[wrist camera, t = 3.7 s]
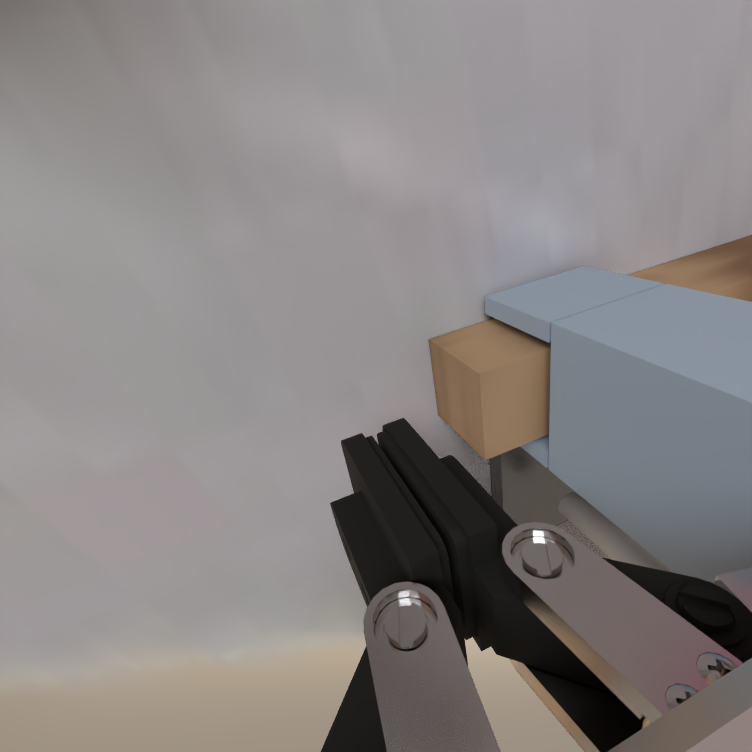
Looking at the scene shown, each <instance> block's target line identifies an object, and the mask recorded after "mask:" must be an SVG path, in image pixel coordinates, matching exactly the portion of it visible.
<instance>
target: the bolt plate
mask: <svg viewBox="0 0 752 752" xmlns="http://www.w3.org/2000/svg"><path fill="white" fill-rule="evenodd" d="M490 471H491V487H492V498H493V499H494V500H495V501H496V502H497V504H498V505H499V506H500V507H501V508H502V509H503V510H504V511H505V512H506V513H507V514H508V515H509V516H510V518H511V519H512V520H513V521H514V522H515V523H516V524H517V525H518V526H519V525H521V524H524V523H531V522H540V523H548V524H551V525H554V526H556V525H559V524H561V523H563V522H565V521H567V520H568V519H567V518H565V517H564V516H563V515H562V514H561V513H560V512H559V511H558V504H559V502H560V500H561V499H562V498H563V497H564V496H565V495H566V494H568V493H571V492H575V491H574V490H573V489H571V488H570V487H569V486H568V485H567V484H565V483H564V482H563V481H562V480H560V479H559V478H558V477H557V476H556V475H554V474H553V473H552V472H551V471H550V470H549V467H547V468H546V467H545V466H543V465H542V464H541V463H540V462H539V461H537V460H536V459H535V458H534V457H533V456H531V455H530V454H529V453H528V452H526V451H525V450H524V449H523V448H522V447H520V446H519V447H517V448H514V449H512V450H510V451H507V452H505V453H502V454H500V455H497V456H495V457H493V458H490ZM577 494H578V493H577Z"/></svg>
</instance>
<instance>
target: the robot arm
mask: <svg viewBox="0 0 752 752" xmlns="http://www.w3.org/2000/svg"><path fill="white" fill-rule="evenodd" d="M377 438H378V443H379V445H378V444H377V442H376V441H375V439H374V438H373V436H369V437H367V438H365V436H364V435H363V434H362V433H361V434H358V435H355V436H353V437H350V438H347V439H344V440H342V441H341V445H342V449H343V453H344V456H345V460H346V464H347V468H348V472H349V475H350V479H351V483H352V487H353V491H354V494H351V495H349V496H346V497H344V498H341V499H339V500H336V501H334V502H331V503H330V504H331V508H332V511H333V515H334V518H335V521H336V525H337V528H338V531H339V534H340V537H341V540H342V543H343V546H344V548H345V551H346V554H347V557H348V559H349V562H350V564H351V567H352V569H353V572H354V574H355V577H356V580H357V582H358V585H359V587H360V590H361V592H362V595H363V597H364V600H365V603H366V605H367V609H366V613H365V616H364V635H365V641H366V648H365V650H364V653H363V655H362V657H361V660H360V662H359V664H358V667H357V669H356V671H355V674H354V676H353V678H352V680H351V683H350V685H349V688H348V690H347V692H346V694H345V697H344V699H343V702H342V704H341V706H340V708H339V711H338V713H337V715H336V718H335V720H334V722H333V725H332V727H331V729H330V731H329V734H328V736H327V738H326V741H325V743H324V745H323V748H322V750H321V752H501V751H500V749H499V746H498V743H497V741H496V738H495V736H494V733H493V731H492V728H491V725H490V723H489V721H488V718H487V715H486V713H485V710H484V707H483V705H482V702H481V700H480V697H479V695H478V693H477V689H476V687H475V684H474V682H473V679H472V677H471V674H470V672H469V669H468V663H467V655H466V647H465V640H464V638H465V639H466V640H468V639H469V638H471V637H473V638H474V640H475V641H476V643H477V645H478V646H479V648H480V650H481V651H483V650H485V649H487V648H489V647H490V646H491V647H492V648H493V649H494V651H495V653H496V654H497V655H500V656H503V657H506V658H509V659H510V661H511V663H512V664H513V666H514V667H515V669H516V671H517V672H518V673H519V674H520V676H521V677H522V678H523V679H524V680H525V681H526V682H527V684H528V685H529V686H530V687H531V689H532V690H533V691H534V692H535V693H536V694H537V696H538V697H539V698H540V699H541V700H542V702H543V703H544V704H545V705H546V706H547V708H548V709H549V710H550V711H551V712H552V714H553V715H554V716H555V717H556V718H557V720H558V721H559V722H560V723H561V724H562V726H563V727H564V728H565V729H566V730H567V731H568V733H569V734H570V735H571V736H572V737H573V739H574V740H575V741H576V742H577V743H578V745H579V746H580V747H581V748H582V749H583V750H584V752H752V567H751V568H746V569H742V570H737V571H733V572H729V573H724V574H720V575H716V578H715V581H713V582H709V581H706V580H702V579H699V578H696V577H691V576H687V575H682V574H677V573H672V572H668V571H663V570H658V569H653V568H649V567H644V566H639V565H635V564H630V563H625V562H620V561H616V560H611V559H606V558H602V557H600V556H599V555H598V554H596V553H595V552H594V551H592V550H591V549H590V548H588V547H587V546H586V545H584V544H583V543H581V542H580V541H579V540H577V539H576V538H575V537H573V536H572V535H571V534H569V533H568V532H566V531H564V530H563V529H561V528H559V527H557V526H554V525H551V524H548V523H540V522H531V523H524V524H521V525H519V526H518V525H517V524H516V523H515V522H514V521H513V520H512V519H511V518H510V516H509V515H508V514H507V513H506V512H505V511H504V510H503V509H502V508H501V507H500V506H499V505H498V504H497V502H496V501H495V500H494V499H493V498H492V497H491V496H490V495H489V494H488V493H487V492H486V491H485V490H484V488H483V487H482V486H481V485H480V484H479V483H478V482H477V481H476V480H475V479H474V478H473V477H472V476H471V474H470V473H469V472H468V471H467V470H466V469H465V468H464V467H463V466H462V465H461V464H460V463H459V462H458V460H457V459H455V458H454V457H453V456H450V455H449V456H446V457H444V458H441V459H439V458H438V456H437V455H436V454H435V453H434V452H433V451H432V450H431V448H430V447H429V446H428V445H427V444H426V443H425V441H424V440H423V439H422V438H421V437H420V436H419V435H418V433H417V432H416V431H415V430H414V429H413V428H412V426H411V425H410V424H409V423H408V422H407V421H406V420H405V419H404V418H402V419H399V420H396V421H394V422H391V423H388V424H385V425H383V432H380V433H378V434H377Z"/></svg>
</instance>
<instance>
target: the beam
mask: <svg viewBox="0 0 752 752" xmlns="http://www.w3.org/2000/svg"><path fill="white" fill-rule="evenodd" d="M628 276H633V277H637V278H642V279H647V280H651V281H656V282H661V283H664V285H665V284H670V285H675V286H679V287H684V288H689V289H693V290H698V291H703V292H707V293H712V294H717V295H721V296H726V297H731V298H735V299H740V300H745V301H749V302H752V235H751V236H747V237H744V238H741V239H738V240H735V241H732V242H729V243H726V244H723V245H720V246H717V247H713V248H710V249H707V250H704V251H701V252H698V253H695V254H692V255H689V256H686V257H682V258H679V259H676V260H673V261H670V262H667V263H664V264H661V265H658V266H655V267H652V268H648V269H645V270H642V271H639V272H636V273H633V274H630V275H628ZM429 346H430V353H431V361H432V369H433V377H434V385H435V393H436V401H437V408H438V415H439V416H440V417H441V418H442V419H443V420H444V421H445V422H446V423H447V424H448V425H449V426H450V427H451V428H452V429H453V430H454V431H455V432H457V433H458V434H459V435H460V436H461V437H462V438H463V439H464V440H465V441H466V442H467V443H468V444H469V445H470V446H471V447H472V448H473V449H474V450H475V451H476V452H477V453H478V454H479V455H480V456H481V457H482V458H483V459H484V460H488V459H490V458H493V457H495V456H497V455H500V454H502V453H505V452H507V451H510V450H512V449H514V448H517V447H519V446H522V445H524V444H527V443H529V442H531V441H534V440H536V439H539V438H541V437H543V436H546V435H548V434H549V418H550V361H551V342H549V343H548V342H546V341H544V340H541V339H539V338H537V337H535V336H533V335H531V334H528V333H526V332H524V331H522V330H520V329H517V328H515V327H513V326H511V325H509V324H506V323H504V322H502V321H500V320H498V319H495V318H494V319H491V320H487V321H484V322H481V323H478V324H475V325H472V326H469V327H466V328H463V329H460V330H456V331H453V332H450V333H447V334H444V335H441V336H438V337H435V338H432V339H429Z"/></svg>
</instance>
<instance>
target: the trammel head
mask: <svg viewBox="0 0 752 752" xmlns="http://www.w3.org/2000/svg"><path fill="white" fill-rule="evenodd" d="M484 299H485V314H487V315H489V316H491V317H493V318H495V319H498V320H500V321H502V322H504V323H506V324H509V325H511V326H513V327H515V328H517V329H520V330H522V331H524V332H526V333H528V334H531V335H533V336H535V337H537V338H539V339H541V340H544V341H546V342H548V343H549V342H551V361H550V418H549V434H548V435H546V436H543V437H541V438H539V439H536V440H534V441H531V442H529V443H527V444H524V445H522V446H520V447H522V448H523V449H524V450H525V451H526V452H528V453H529V454H530V455H531V456H533V457H534V458H535V459H536V460H537V461H539V462H540V463H541V464H542V465H543V466H545V467H546V468H547V467H549V470H550V471H551V472H552V473H553V474H554V475H556V476H557V477H558V478H559V479H560V480H562V481H563V482H564V483H565V484H567V485H568V486H569V487H570V488H571V489H573V490H574V491H575V492H571V493H568V494H566V495H565V496H564V497H563V498H562V499H561V500H560V502H559V504H558V511H559V512H560V513H561V514H562V515H563V516H564V517H565V518H567V519H568V520H569V521H570V522H571V523H572V524H573V525H574V526H575V527H576V528H577V529H579V530H580V531H581V532H582V533H583V534H584V535H585V536H586V537H587V538H588V539H589V540H591V541H592V542H593V543H594V544H595V545H596V546H597V547H598V548H599V549H600V550H601V551H603V552H604V553H605V554H606V555H607V556H608V557H609V558H610V559H611V560H616V561H620V562H625V563H630V564H635V565H639V566H644V567H649V568H653V569H658V570H663V571H668V572H672V573H677V574H682V575H687V576H691V577H696V578H699V579H702V580H706V581H709V582H713V581H715V578H716V575H720V574H724V573H729V572H733V571H737V570H742V569H746V568H751V567H752V302H749V301H745V300H740V299H735V298H731V297H726V296H721V295H717V294H712V293H707V292H703V291H698V290H693V289H689V288H684V287H679V286H675V285H670V284H665V285H664V283H661V282H656V281H651V280H647V279H642V278H637V277H633V276H628V275H623V274H619V273H614V272H609V271H605V270H600V269H595V268H591V267H586V266H582V267H579V268H576V269H572V270H569V271H566V272H563V273H559V274H556V275H553V276H550V277H546V278H543V279H540V280H537V281H533V282H530V283H527V284H524V285H520V286H517V287H514V288H511V289H507V290H504V291H501V292H497V293H494V294H491V295H488V296H484ZM577 493H578V494H577ZM594 507H595V508H594ZM611 521H612V522H611ZM628 535H629V536H628ZM645 549H646V550H645ZM662 563H663V564H662Z"/></svg>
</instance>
